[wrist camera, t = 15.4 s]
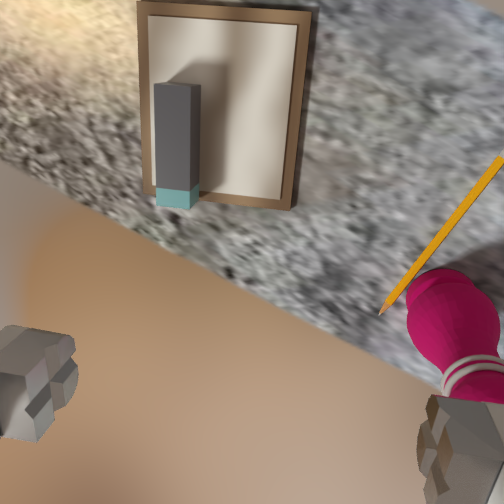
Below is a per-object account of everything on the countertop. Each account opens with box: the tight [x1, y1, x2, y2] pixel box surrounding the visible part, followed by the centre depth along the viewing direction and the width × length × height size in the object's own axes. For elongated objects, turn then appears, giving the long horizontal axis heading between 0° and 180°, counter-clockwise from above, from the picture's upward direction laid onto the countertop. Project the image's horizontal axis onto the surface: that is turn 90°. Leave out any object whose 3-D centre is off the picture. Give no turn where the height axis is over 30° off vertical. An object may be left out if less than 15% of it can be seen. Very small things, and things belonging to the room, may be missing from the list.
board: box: [137, 1, 312, 211], centre depth 38 cm, size 14×16×1 cm
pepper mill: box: [406, 269, 504, 404], centre depth 33 cm, size 7×7×20 cm
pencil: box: [379, 149, 504, 315], centre depth 39 cm, size 1×19×1 cm, turn 153°
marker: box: [154, 82, 201, 209], centre depth 38 cm, size 3×10×3 cm, turn 176°
